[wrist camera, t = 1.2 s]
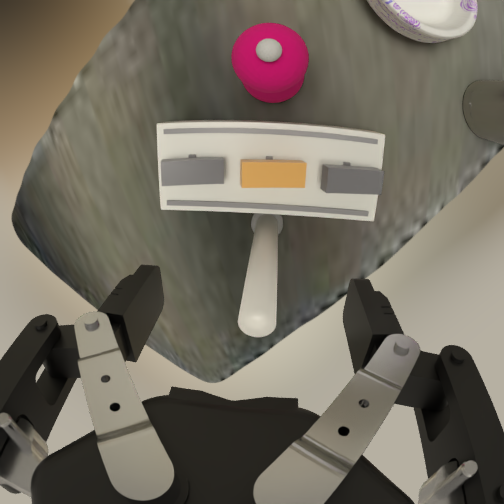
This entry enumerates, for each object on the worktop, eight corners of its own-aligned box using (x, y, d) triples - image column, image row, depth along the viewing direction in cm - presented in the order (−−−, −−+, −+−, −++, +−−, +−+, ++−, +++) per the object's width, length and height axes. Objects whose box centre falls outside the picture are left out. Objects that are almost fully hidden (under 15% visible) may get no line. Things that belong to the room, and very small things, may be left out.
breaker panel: (373, 131, 37) (386, 135, 32) (364, 208, 42) (374, 223, 37) (170, 121, 38) (155, 124, 33) (172, 198, 43) (159, 211, 38)
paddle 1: (223, 156, 35) (223, 159, 33) (222, 180, 36) (223, 183, 35) (162, 159, 34) (160, 161, 32) (163, 182, 35) (161, 186, 34)
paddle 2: (376, 167, 34) (384, 171, 32) (373, 190, 35) (381, 194, 34) (322, 164, 33) (328, 167, 31) (320, 188, 34) (326, 193, 33)
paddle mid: (301, 160, 34) (306, 163, 33) (300, 183, 36) (304, 187, 34) (240, 159, 33) (242, 162, 32) (239, 183, 35) (241, 187, 33)
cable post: (284, 208, 43) (287, 301, 23) (281, 237, 45) (282, 344, 25) (252, 206, 43) (228, 298, 23) (251, 235, 45) (229, 341, 25)
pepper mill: (289, 111, 37) (300, 114, 19) (236, 92, 36) (198, 79, 18) (309, 62, 34) (338, 24, 16) (256, 43, 33) (236, -10, 15)
